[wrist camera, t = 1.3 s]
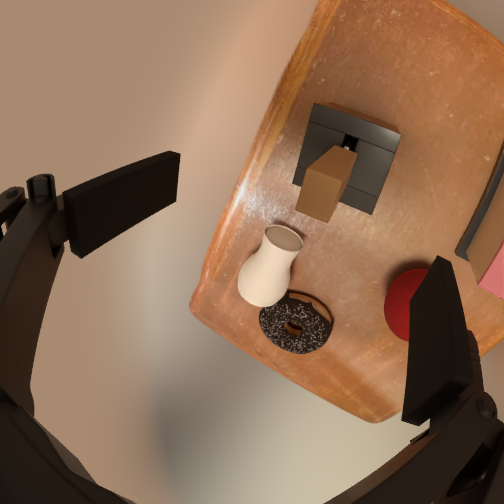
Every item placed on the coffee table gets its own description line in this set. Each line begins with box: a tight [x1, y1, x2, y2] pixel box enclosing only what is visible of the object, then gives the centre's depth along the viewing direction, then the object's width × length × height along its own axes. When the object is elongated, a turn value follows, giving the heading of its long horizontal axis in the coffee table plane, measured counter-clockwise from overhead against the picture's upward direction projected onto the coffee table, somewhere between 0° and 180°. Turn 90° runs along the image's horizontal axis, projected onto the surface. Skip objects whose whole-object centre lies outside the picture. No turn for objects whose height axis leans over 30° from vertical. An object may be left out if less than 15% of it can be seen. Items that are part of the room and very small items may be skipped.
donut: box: [259, 292, 334, 354], centre depth 45 cm, size 11×12×4 cm
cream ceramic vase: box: [238, 225, 303, 307], centre depth 40 cm, size 7×7×10 cm
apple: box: [384, 269, 429, 342], centre depth 32 cm, size 9×9×10 cm
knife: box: [295, 137, 358, 223], centre depth 23 cm, size 3×2×19 cm, turn 168°
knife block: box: [292, 103, 401, 215], centre depth 28 cm, size 8×8×9 cm
